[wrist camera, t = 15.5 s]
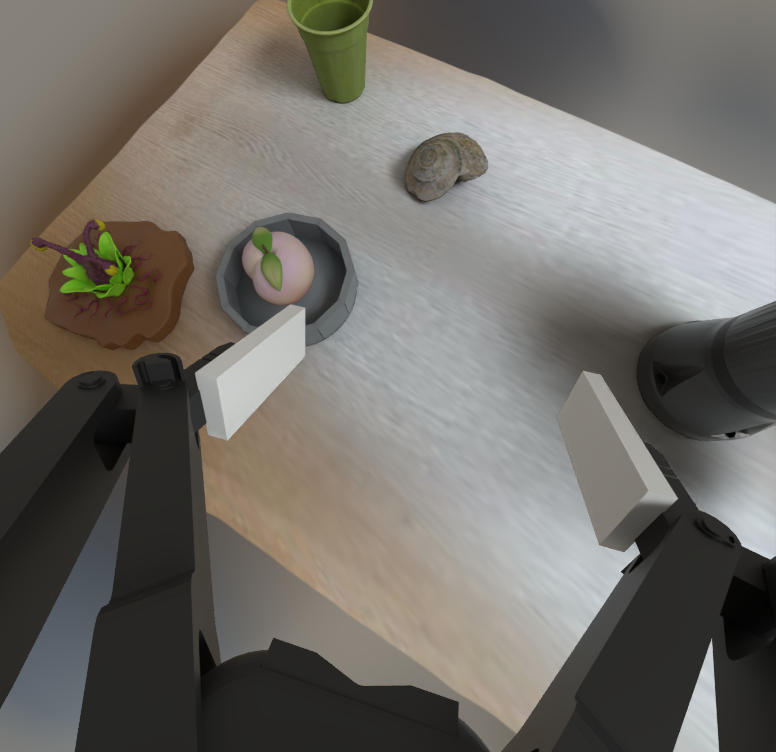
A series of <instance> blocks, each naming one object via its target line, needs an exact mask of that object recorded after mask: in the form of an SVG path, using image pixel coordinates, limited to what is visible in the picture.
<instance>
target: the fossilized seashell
mask: <svg viewBox="0 0 776 752" xmlns="http://www.w3.org/2000/svg"><path fill="white" fill-rule="evenodd" d="M487 169H488V161H487V158H486V156H485V155H484V152H483V151H482V149H481V147H480V146H479V145H478V143H477V142H476V141H475V140H473V139H471V138H470V137H469V136H467V135H465V134H462V133H458V132H457V133H444V134H440V135H437V136H434V137H432V138H430V139H428V140H426V141H424V142H423V143H422V144H421V145H419V146H418V147H417V148H416V149H415V151H414V153H413V154H412V155H411V157H410V161H409V165H408V167H407V170H406V174H405V183H406V184H407V189H408V192H411V193H412V194H413V195H414V196H416V197H418V199H421V200H424V201H430V200H435V199H437V198H440V197H441V196H443V195H444V194H445V193H446V192H447V191H448V190H449V189H450V188H451V187H452V186H453V185H454V183H455V182H456V180H460V181H464V182H466V181H468V180H472V179H475V178H477V177H480V176H481V175H483V174H484V173H485V172H486V171H487Z"/></svg>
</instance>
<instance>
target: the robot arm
mask: <svg viewBox="0 0 776 752" xmlns="http://www.w3.org/2000/svg"><path fill="white" fill-rule="evenodd" d="M304 357H305V307H300V306H296V305H291V304H290V305H289V306H287V307H286V308H285V309H283V310H282V311H281V312H279V313H278V314H276V315H275V316H274V317H272V318H271V319H269V320H268V321H267V322H265V323H264V324H262V325H261V326H260V327H258V328H257V329H255V330H254V331H253V332H251V333H250V334H248V335H247V336H246V337H244V338H243V339H242V340H240V341H239V342H237V343H236V344H235V343H231V342H230V343H227V344H225V345H222V346H219V347H217V348H216V349H214V350H213V351H211V352H210V353H209V354H207V355H205V356H204V357H202V359H199V360H198V361H196V362H195V363H194V364H192V365H191V366H189V367H188V368H186V369H185V370H184V369H183V365H182V361H181V359H180V357H179V356H177V355H175V354H171V353H156V354H150V355H147V356H144V357H141V358H139V359H138V360H136V361H135V362H134V363H133V365H132V368H133V371H134V374H135V377H136V380H137V383H138V385H125V384H120V383H119V381H118V378H117V376H116V375H115V374H114V373H112V372H109V371H91V372H87V373H82V374H80V375H78V376H76V377H73V378H72V379H70V380H69V381H68V382H66V383H65V384H64V385H63V387H62V388H61V389H60V390H59V391H58V392H57V393H56V394H55V395H54V396H53V397H52V399H51V400H50V401H49V402H48V403H47V404H46V405H45V406H44V407H43V408H42V409H41V410H40V411H39V412H38V414H37V415H36V416H35V417H34V418H33V419H32V420H31V421H30V422H29V423H28V424H27V425H26V426H25V428H24V429H23V430H22V431H21V432H20V433H19V434H18V435H17V436H16V437H15V438H14V439H13V440H12V442H11V443H10V444H9V445H8V446H7V447H6V448H5V449H4V450H3V451H2V452H1V454H0V708H1V706H2V704H3V703H4V701H5V699H6V697H7V696H8V694H9V692H10V690H11V688H12V687H13V685H14V683H15V681H16V679H17V677H18V675H19V673H20V671H21V669H22V667H23V665H24V663H25V661H26V659H27V657H28V655H29V653H30V651H31V649H32V647H33V645H34V643H35V641H36V639H37V637H38V635H39V634H40V632H41V630H42V628H43V626H44V624H45V622H46V620H47V618H48V616H49V614H50V612H51V610H52V608H53V606H54V604H55V602H56V600H57V598H58V596H59V594H60V592H61V590H62V588H63V586H64V584H65V582H66V580H67V579H68V577H69V575H70V573H71V571H72V568H73V567H74V565H75V563H76V561H77V559H78V557H79V555H80V553H81V551H82V549H83V547H84V545H85V543H86V541H87V539H88V537H89V535H90V533H91V531H92V529H93V527H94V525H95V523H96V522H97V520H98V518H99V516H100V514H101V512H102V510H103V508H104V505H105V504H106V502H107V500H108V498H109V496H110V494H111V492H112V490H113V488H114V486H115V484H116V482H117V480H118V478H119V476H120V474H121V472H122V470H123V468H124V466H125V464H126V463H127V461H128V459H129V456H130V462H129V470H128V477H127V485H126V492H125V500H124V508H123V516H122V523H121V531H120V538H119V545H118V546H119V547H118V553H117V561H116V568H115V576H114V584H113V592H112V597H111V600H110V602H109V604H107V605H106V606H104V607H102V608H101V610H100V612H99V614H98V616H97V619H96V623H95V628H94V633H93V639H92V646H91V652H90V658H89V665H88V671H87V677H86V684H85V690H84V697H83V703H82V709H81V715H80V722H79V728H78V734H77V741H76V748H75V752H490V751H489V749H488V748H487V747H486V745H485V744H484V743H483V742H482V740H481V739H480V738H479V737H478V735H477V734H476V733H475V732H474V731H473V730H472V729H471V728H470V727H469V726H468V725H467V724H466V723H465V722H464V721H462V720H461V719H459V718H458V706H459V702H457V701H454V700H451V699H448V698H446V697H442V696H440V695H437V694H434V693H431V692H428V691H425V690H422V689H419V688H416V687H414V686H361V685H358V684H356V683H355V682H353V681H352V680H351V679H350V678H348V677H347V676H346V675H344V674H343V673H342V672H340V671H339V670H338V669H337V668H335V667H334V666H333V665H332V664H330V663H329V662H328V661H327V660H325V659H324V658H323V657H321V656H320V655H319V654H318V653H316V652H313V651H310V650H307V649H304V648H301V647H298V646H295V645H293V644H289V643H287V642H284V641H281V640H278V639H275V638H273V640H272V642H271V645H270V647H269V649H268V650H260V651H254V652H248V653H245V654H242V655H239V656H236V657H234V658H232V659H229V660H227V661H225V662H223V663H221V660H220V651H219V644H218V638H217V633H216V627H215V617H214V605H213V593H212V581H211V569H210V556H209V544H208V532H207V520H206V507H205V494H204V482H203V470H202V458H201V445H200V436H199V431H198V430H199V429H200V428H201V427H202V426H203V425H205V424H206V426H207V431H208V435H210V436H213V437H217V438H220V439H224V440H227V441H228V439H229V438H230V437H231V436H232V435H233V434H234V433H235V432H236V431H237V430H238V429H239V427H240V426H241V425H242V424H243V423H244V422H245V421H246V420H247V419H248V418H249V417H250V416H251V414H252V413H253V412H254V411H255V410H256V409H257V408H258V407H259V406H260V405H261V404H262V403H263V401H264V400H265V399H266V398H267V397H268V396H269V395H270V394H271V393H272V392H273V391H274V389H275V388H276V387H277V386H278V385H279V384H280V383H281V382H282V381H283V380H284V379H285V378H286V376H287V375H288V374H289V373H290V372H291V371H292V370H293V369H294V368H295V367H296V366H297V364H298V363H299V362H300V361H301V360H302V359H303V358H304ZM637 377H638V384H639V388H640V391H641V394H642V396H643V398H644V400H645V402H646V404H647V406H648V407H649V408H650V410H651V411H652V412H653V414H654V415H655V416H656V417H657V418H658V419H659V420H660V421H661V422H663V423H664V424H665V425H666V426H668V427H669V428H671V429H672V430H674V431H676V432H678V433H680V434H682V435H684V436H687V437H690V438H693V439H698V440H704V441H721V440H735V439H740V438H744V437H747V436H750V435H753V434H755V433H758V432H760V431H762V430H765V429H767V428H770V427H772V426H775V425H776V301H775V302H772V303H770V304H767V305H765V306H762V307H759V308H757V309H754V310H752V311H749V312H747V313H744V314H742V315H739V316H737V317H733V318H723V319H714V320H706V321H691V322H687V323H683V324H680V325H677V326H674V327H672V328H670V329H668V330H666V331H663V332H661V333H659V334H658V335H656V336H655V337H654V338H653V339H651V340H650V341H649V342H648V344H647V345H646V346H645V348H644V349H643V351H642V353H641V355H640V358H639V362H638V368H637ZM557 420H558V423H559V426H560V429H561V432H562V435H563V438H564V441H565V444H566V447H567V450H568V453H569V456H570V459H571V462H572V465H573V468H574V471H575V474H576V477H577V480H578V483H579V486H580V489H581V492H582V495H583V498H584V501H585V504H586V507H587V510H588V513H589V516H590V519H591V522H592V525H593V528H594V531H595V534H596V537H597V540H598V543H599V545H601V546H604V547H608V548H611V549H615V550H619V551H622V552H625V551H626V550H627V549H628V548H629V547H630V546H631V545H632V544H633V543H634V542H636V544H637V547H638V549H639V551H640V554H639V555H638V556H637V557H636V558H635V559H634V560H633V561H632V562H631V563H630V564H628V565H627V566H626V567H625V568H624V569H623V570H622V571H621V572H622V573H623V574H624V575H623V576H622V578H621V579H620V581H619V582H618V584H617V585H616V587H615V588H614V590H613V591H612V593H611V594H610V596H609V597H608V599H607V600H606V602H605V603H604V605H603V606H602V608H601V609H600V611H599V612H598V614H597V615H596V617H595V618H594V620H593V621H592V623H591V624H590V626H589V627H588V629H587V630H586V632H585V633H584V635H583V636H582V638H581V639H580V641H579V642H578V644H577V645H576V647H575V648H574V650H573V651H572V653H571V655H570V656H569V658H568V659H567V661H566V662H565V664H564V665H563V667H562V668H561V670H560V671H559V673H558V674H557V676H556V677H555V679H554V680H553V682H552V683H551V685H550V686H549V688H548V689H547V691H546V692H545V694H544V695H543V697H542V698H541V700H540V701H539V703H538V704H537V706H536V707H535V709H534V710H533V712H532V713H531V715H530V716H529V718H528V719H527V721H526V722H525V724H524V725H523V726H522V728H521V729H520V731H519V732H518V733H517V734H516V736H515V737H514V738H513V739H512V740H511V741H510V742H509V743H508V744H507V745H506V747H505V748H504V749H503V750H502V752H673V750H674V747H675V744H676V741H677V738H678V735H679V732H680V729H681V726H682V723H683V720H684V717H685V715H686V712H687V709H688V706H689V703H690V700H691V697H692V694H693V691H694V688H695V685H696V682H697V679H698V677H699V674H700V671H701V668H702V665H703V662H704V659H705V656H706V653H707V650H708V647H709V644H710V642H711V639H712V645H713V661H714V677H715V692H716V708H717V724H718V740H719V752H776V556H775V557H774V558H772V559H771V560H770V559H768V558H765V557H763V556H761V555H759V554H757V553H755V552H753V551H751V550H749V549H747V548H745V547H742V546H741V543H740V541H739V540H738V538H737V536H736V535H735V534H734V533H733V532H732V531H731V530H730V529H729V528H728V527H727V526H726V525H725V524H723V523H722V522H721V521H719V520H718V519H716V518H715V517H713V516H711V515H709V514H707V513H705V512H702V511H699V510H698V508H697V507H696V505H695V504H694V502H693V501H692V499H691V498H690V496H689V495H688V493H687V492H686V490H685V489H684V487H683V486H682V484H681V483H680V481H679V480H678V479H677V477H676V475H675V473H674V472H673V470H671V469H670V468H671V467H670V466H669V464H668V463H667V461H666V460H665V458H664V457H663V456H662V455H661V454H660V453H659V452H658V451H657V450H656V449H655V448H654V447H652V446H651V445H650V444H647V443H643V442H642V440H641V439H640V437H639V435H638V434H637V432H636V431H635V429H634V427H633V426H632V424H631V423H630V421H629V419H628V418H627V416H626V415H625V413H624V411H623V410H622V408H621V406H620V405H619V403H618V402H617V400H616V398H615V397H614V395H613V394H612V392H611V390H610V389H609V387H608V386H607V384H606V382H605V381H604V379H603V378H602V376H601V375H600V374H595V373H591V372H587V371H582V373H581V375H580V377H579V378H578V380H577V382H576V384H575V385H574V387H573V389H572V391H571V393H570V394H569V396H568V398H567V400H566V402H565V403H564V405H563V407H562V409H561V411H560V412H559V414H558V416H557Z"/></svg>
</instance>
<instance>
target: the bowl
mask: <svg viewBox="0 0 776 752" xmlns="http://www.w3.org/2000/svg"><path fill="white" fill-rule="evenodd" d="M257 227H264V228H266V229H268V230H269V231H270V232H285V233H288V234H290V235H292V236H294V237H296V238H297V239H298V240H299V241H301V242H302V243H303V245H304V246H305V247H306V248H307V250H308V251H309V253H310V255H311V257H312V259H313V263H314V277H313V281H312V284H311V286H310V288H309V290H308V291H307V293H306V294H305V295H304V296H303V297H302V298H301V299H300V300H299V301H297V302H295V303H293V304H291V305H296V306H300V307H305V347H307V346H310V345H313V344H316V343H318V342H320V341H322V340H324V339H326V338H327V337H329V336H331V335H332V334H333V333H334V332H335V331H337V330H338V329H339V328H340V327H341V326H342V324H343V323H344V322H345V321H346V319H347V318H348V316H349V314H350V312H351V310H352V308H353V305H354V303H355V298H356V291H357V286H358V281H357V278H356V274H355V270H354V266H353V263H352V260H351V256H350V253H349V250H348V246H347V243H346V240H345V239H344V238H343V237H342V236H341V235H340V234H338V233H337V232H336V231H335V230H334V229H333V228H331V227H330V226H329V225H328V224H327V223H325V222H324V221H323V220H322V219H320V218H314V217H309V216H304V215H299V214H294V213H284V214H281V215H277V216H273V217H270V218H266V219H262V220H259V221H255V223H254V222H253V223H252V224H251V225H250V226H249V227H248V228H246V229H245V230H244V231H243V232H242V233H241V234H240V235H238V236H237V237H236V238H235V239H234V240H233V241H231V242H230V243H229V244H228V245H227V248H226V251H225V253H224V256H223V258H222V261H221V263H220V266H219V268H218V271H217V273H216V281H217V286H218V292H219V297H220V303H221V308H222V309H223V310H224V311H225V312H226V313H227V314H228V315H229V316H230V317H231V318H232V319H233V320H234V321H235V322H236V323H237V324H238V325H239V326H240V327H241V328H242V329H243V330H244V331H245V332H246V333H247V334H250V333H251V332H253V331H254V330H255V329H257V328H258V327H260V326H261V325H262V324H264V323H265V322H267V321H268V320H269V319H271V318H272V317H274V316H275V315H276V314H278V313H279V312H281V311H282V310H283V309H285V308H286V307H287V306H289V305H276V304H272V303H270V302H268V301H266V300H264V299H263V298H262V297H261V296H260V295H259V294H258V293H257V292H256V290H255V287H254V284H253V280H252V279H251V278H250V277H249V276H248V274H247V273H246V272H245V270H244V267H243V263H242V255H243V250H244V248H245V246H246V245H247V243H248V242H249V241H250V240H251V239H252V235H253V232H254V230H255V229H256V228H257Z"/></svg>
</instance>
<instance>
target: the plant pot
mask: <svg viewBox="0 0 776 752" xmlns="http://www.w3.org/2000/svg"><path fill="white" fill-rule="evenodd" d="M372 4H373V0H288V2H287V9H288V13H289V16H290V18H291V20H292V21H293V23H294V24H295V25H296V26H297V28H298V30H299V33H300V35H301V37H302V39H303V40H304V42H305V45H306V47H307V50H308V53H309V55H310V58H311V60H312V63H313V66H314V68H315V71H316V74H317V76H318V79H319V82H320V84H321V87H322V90H323V92H324V94H325V96H326V97H327V98H328V99H330V100H335V101H337V102H339V103H346V102H350V101H353V100H355V99H356V98H358V97H359V96H360V95H361V93H362V91H363V89H364V86H365V64H366V39H367V28H368V23H369V22H368V21H369V12H370V10H371V8H372Z"/></svg>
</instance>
